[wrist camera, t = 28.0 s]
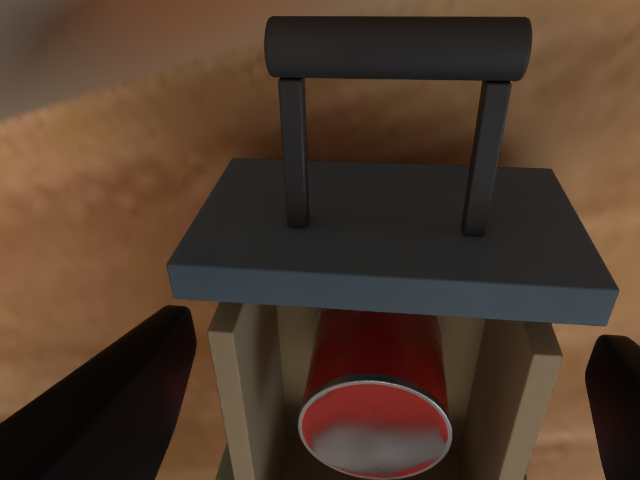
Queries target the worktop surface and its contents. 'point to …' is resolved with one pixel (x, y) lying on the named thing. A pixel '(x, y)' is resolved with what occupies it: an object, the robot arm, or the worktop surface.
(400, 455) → the can
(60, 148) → the worktop surface
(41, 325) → the worktop surface
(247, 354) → the drawer
